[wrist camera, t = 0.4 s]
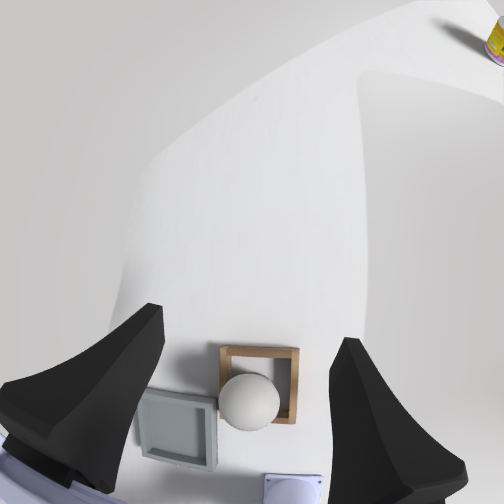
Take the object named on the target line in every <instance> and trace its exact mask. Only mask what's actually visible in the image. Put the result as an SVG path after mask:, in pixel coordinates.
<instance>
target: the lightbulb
mask: <svg viewBox="0 0 504 504" xmlns="http://www.w3.org/2000/svg"><path fill="white" fill-rule="evenodd" d="M279 406H280V398H279V394H278V392H277V390H276V388H275V386H274V385H273V384H272V383H271V382H270V381H269V379H268V378H267V377H266V376H264V375H257V374H241V375H238V376H235V377H233V378H232V379H230V380H229V381H228V382H227V383H226V384H225V385H224V387H223V388H222V390H221V392H220V395H219V409H220V412H221V414H222V416H223V418H224V419H225V421H226V422H227V423H229V424H230V425H231V426H233V427H234V428H237V429H239V430H243V431H256V430H259V429H262V428H264V427H266V426H267V425H269V424H270V423H271V422H272V421H273V420H274V418H275V417H276V415H277V413H278V411H279Z"/></svg>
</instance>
